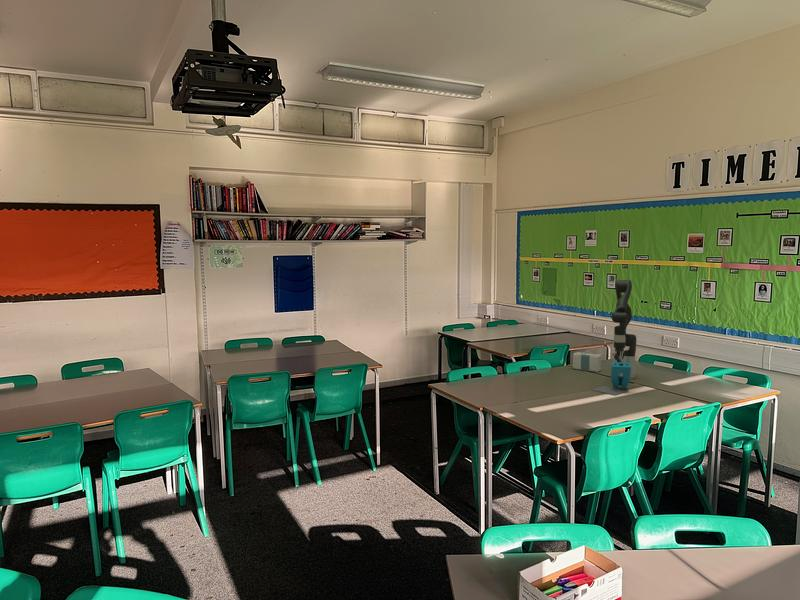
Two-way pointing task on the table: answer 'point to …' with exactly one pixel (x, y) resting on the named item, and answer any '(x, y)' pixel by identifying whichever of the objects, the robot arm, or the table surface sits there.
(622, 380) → the block
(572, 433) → the table surface
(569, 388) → the table surface
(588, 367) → the stereo radio cassette player
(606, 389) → the mat
